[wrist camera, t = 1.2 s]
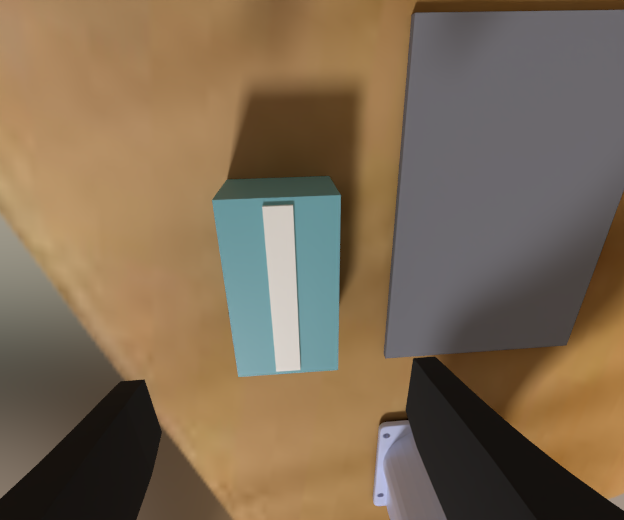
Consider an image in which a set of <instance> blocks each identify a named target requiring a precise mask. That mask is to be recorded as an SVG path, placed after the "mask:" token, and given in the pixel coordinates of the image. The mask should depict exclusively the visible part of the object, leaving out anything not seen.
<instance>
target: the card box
mask: <svg viewBox="0 0 624 520" xmlns="http://www.w3.org/2000/svg"><path fill="white" fill-rule="evenodd" d="M212 203H213V210H214V216H215V223H216V230H217V236H218V243H219V250H220V256H221V263H222V270H223V277H224V283H225V290H226V297H227V303H228V310H229V317H230V324H231V330H232V337H233V344H234V350H235V357H236V364H237V370H238V377H244V376H258V375H272V374H287V373H301V372H315V371H329V370H338V335H339V275H340V214H341V195H340V193H339V191H338V190H337V188H336V186H335V185H334V183H333V181H332V180H331V178H330V176H313V177H285V178H257V179H228V180H226V182H225V183H224V184H223V186H222V187H221V188H220V190H219V191H218V193H217V194H216V195H215V197H214V198H213V200H212Z"/></svg>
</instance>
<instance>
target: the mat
mask: <svg viewBox="0 0 624 520" xmlns="http://www.w3.org/2000/svg"><path fill="white" fill-rule="evenodd" d="M623 191H624V10H573V11H502V12H431V13H414V14H412V18H411V30H410V42H409V54H408V66H407V78H406V90H405V103H404V115H403V127H402V139H401V151H400V163H399V175H398V188H397V200H396V212H395V224H394V236H393V248H392V260H391V273H390V285H389V297H388V309H387V321H386V333H385V345H384V356H385V358H397V357H411V356H425V355H439V354H453V353H466V352H480V351H494V350H508V349H522V348H536V347H550V346H564V345H567V342H568V340H569V337H570V334H571V332H572V329H573V326H574V323H575V321H576V318H577V315H578V313H579V310H580V307H581V304H582V302H583V299H584V296H585V294H586V291H587V288H588V286H589V283H590V280H591V277H592V275H593V272H594V269H595V267H596V264H597V261H598V259H599V256H600V253H601V250H602V248H603V245H604V242H605V240H606V237H607V234H608V232H609V229H610V226H611V223H612V221H613V218H614V215H615V213H616V210H617V207H618V205H619V202H620V199H621V196H622V194H623Z"/></svg>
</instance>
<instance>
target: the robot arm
mask: <svg viewBox="0 0 624 520" xmlns="http://www.w3.org/2000/svg"><path fill="white" fill-rule="evenodd" d="M406 413H407V417H408V420H403V421H391V422H383V423H382V424H381V425H380V426H379V432H378V443H377V455H376V467H375V479H374V491H373V502H374V504H375V505H376V506H385V505H386V506H387V510H388V514H389V518H390V520H624V511H623V510H622V509H620V508H619V507H617V506H616V505H614V504H613V503H611V502H610V501H609V500H607V499H606V498H604V497H603V496H602V495H600V494H599V493H598V492H596V491H595V490H593V489H592V488H591V487H589V486H588V485H587V484H585V483H584V482H582V481H581V480H580V479H578V478H577V477H575V476H574V475H573V474H571V473H570V472H569V471H567V470H566V469H565V468H563V467H562V466H561V465H559V464H558V463H557V462H556V461H554V460H553V459H552V458H550V457H549V456H548V455H547V454H545V453H544V452H543V451H542V450H540V449H539V448H538V447H537V446H535V445H534V444H533V443H532V442H530V441H529V440H528V439H527V438H525V437H524V436H523V435H522V434H521V433H519V432H518V431H517V430H516V429H515V428H514V427H512V426H511V425H510V424H509V423H508V422H506V421H505V420H504V419H503V418H502V417H501V416H500V415H498V414H497V413H496V412H495V411H494V410H493V409H492V408H490V407H489V406H488V405H487V404H486V403H485V402H484V401H483V400H481V399H480V398H479V397H478V396H477V395H476V394H475V393H474V392H473V391H472V390H471V389H469V388H468V387H467V386H466V385H465V384H464V383H463V382H462V381H461V380H460V379H459V378H458V377H456V376H455V375H454V374H453V373H452V372H451V371H450V370H449V369H448V368H447V367H446V366H445V365H443V364H442V363H441V362H440V361H439V360H438V359H437V358H436V357H424V358H413V364H412V371H411V378H410V384H409V391H408V398H407V405H406ZM161 433H162V431H161V428H160V425H159V422H158V419H157V416H156V413H155V410H154V407H153V404H152V401H151V398H150V395H149V392H148V389H147V386H146V383H145V380H133V381H121V382H120V383H118V385H116V386H115V387H114V388H113V389H112V390H111V391H110V392H109V393H108V395H107V396H105V397H104V398H103V399H102V400H101V401H100V402H99V403H98V405H97V406H96V407H95V408H94V409H93V410H92V411H91V412H90V413H89V414H88V415H87V416H86V417H85V418H84V419H83V420H82V421H81V422H80V423H79V424H78V425H77V426H76V427H75V428H74V429H73V430H72V431H71V432H70V433H69V434H68V435H67V436H66V437H65V438H64V439H63V440H62V441H61V442H60V443H59V444H58V445H57V446H56V447H55V448H54V449H53V450H52V451H51V452H50V453H49V454H48V455H47V456H46V457H45V458H44V459H42V461H40V462H39V464H37V465H36V466H35V467H34V468H33V469H32V470H31V471H30V472H29V473H28V474H27V475H26V476H24V477H23V478H22V479H21V480H20V481H19V482H18V483H17V484H16V485H15V486H14V487H13V488H11V489H10V490H9V491H8V492H7V493H6V494H5V495H4V496H3V497H2V498H1V499H0V520H136V519H137V516H138V513H139V510H140V507H141V505H142V502H143V499H144V496H145V493H146V490H147V487H148V484H149V482H150V479H151V476H152V472H153V468H154V464H155V460H156V456H157V451H158V447H159V442H160V438H161Z"/></svg>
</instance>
